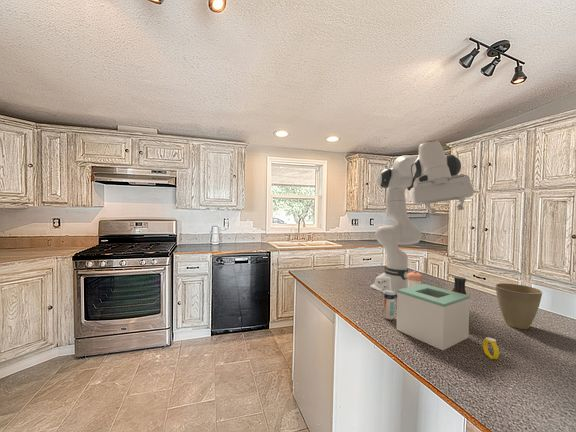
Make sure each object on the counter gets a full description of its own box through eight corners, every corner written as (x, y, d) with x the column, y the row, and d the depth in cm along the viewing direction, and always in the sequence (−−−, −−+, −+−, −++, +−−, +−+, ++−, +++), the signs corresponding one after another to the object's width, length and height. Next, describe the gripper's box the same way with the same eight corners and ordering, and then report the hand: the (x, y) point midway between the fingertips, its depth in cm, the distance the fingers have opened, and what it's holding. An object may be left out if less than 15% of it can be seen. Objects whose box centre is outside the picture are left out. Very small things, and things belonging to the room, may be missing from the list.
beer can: (385, 314, 119) (385, 288, 119) (395, 317, 116) (396, 290, 116) (381, 318, 116) (381, 291, 115) (392, 321, 112) (393, 293, 112)
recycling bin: (396, 329, 105) (397, 289, 104) (422, 320, 114) (423, 283, 114) (442, 350, 89) (444, 304, 89) (468, 337, 99) (469, 295, 98)
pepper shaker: (424, 315, 120) (425, 273, 119) (407, 313, 121) (408, 272, 121) (419, 309, 127) (420, 269, 126) (403, 307, 128) (404, 269, 128)
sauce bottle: (458, 328, 106) (459, 280, 106) (445, 322, 112) (446, 276, 112) (470, 326, 108) (472, 279, 108) (457, 320, 114) (458, 275, 114)
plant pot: (507, 316, 120) (508, 281, 119) (549, 330, 106) (550, 291, 105) (485, 320, 114) (487, 284, 114) (527, 336, 100) (528, 295, 100)
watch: (480, 352, 89) (480, 334, 89) (489, 353, 89) (488, 335, 89) (492, 361, 83) (491, 342, 83) (501, 362, 83) (501, 343, 83)
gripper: (465, 176, 102) (475, 210, 98) (409, 185, 107) (416, 217, 103) (471, 169, 96) (482, 204, 92) (411, 179, 101) (419, 213, 97)
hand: (446, 211), depth 97 cm, fingers open, 8 cm apart
